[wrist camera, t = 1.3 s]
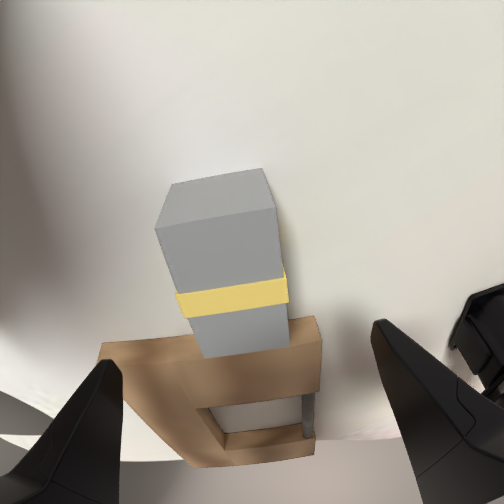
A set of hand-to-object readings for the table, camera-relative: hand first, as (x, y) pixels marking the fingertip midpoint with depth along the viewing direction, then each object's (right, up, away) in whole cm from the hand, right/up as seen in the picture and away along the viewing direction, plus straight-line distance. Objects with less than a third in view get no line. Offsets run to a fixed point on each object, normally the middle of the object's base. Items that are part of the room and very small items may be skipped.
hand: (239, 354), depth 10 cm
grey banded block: (-1, +4, +5) cm, 7 cm away
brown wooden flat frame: (-1, -11, +15) cm, 18 cm away
